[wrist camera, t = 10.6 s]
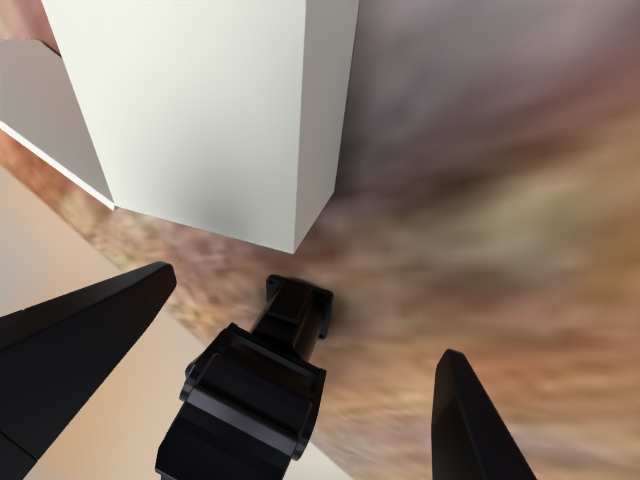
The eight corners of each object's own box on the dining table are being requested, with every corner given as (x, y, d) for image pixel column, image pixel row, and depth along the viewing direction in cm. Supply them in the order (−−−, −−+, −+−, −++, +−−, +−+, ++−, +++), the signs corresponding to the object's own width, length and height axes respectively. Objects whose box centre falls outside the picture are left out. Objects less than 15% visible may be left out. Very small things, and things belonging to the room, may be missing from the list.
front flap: (196, 163, 23) (43, 239, 14) (192, 172, 23) (43, 251, 14) (38, 40, 21) (-256, 33, 12) (38, 53, 22) (-241, 56, 13)
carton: (334, 191, 21) (293, 254, 14) (201, 162, 23) (115, 206, 17) (372, -95, 13) (318, -238, 6) (162, -99, 15) (-35, -210, 9)
